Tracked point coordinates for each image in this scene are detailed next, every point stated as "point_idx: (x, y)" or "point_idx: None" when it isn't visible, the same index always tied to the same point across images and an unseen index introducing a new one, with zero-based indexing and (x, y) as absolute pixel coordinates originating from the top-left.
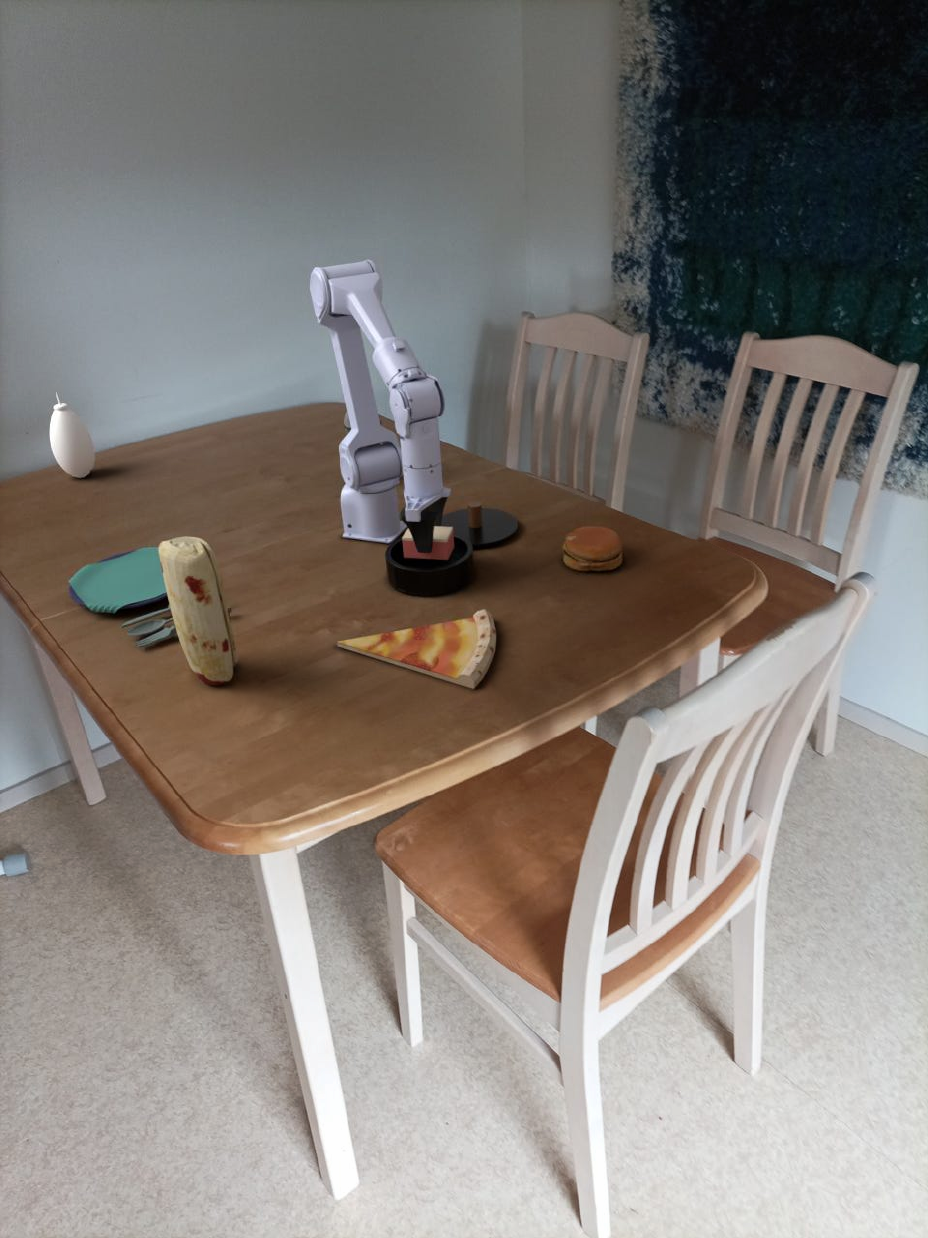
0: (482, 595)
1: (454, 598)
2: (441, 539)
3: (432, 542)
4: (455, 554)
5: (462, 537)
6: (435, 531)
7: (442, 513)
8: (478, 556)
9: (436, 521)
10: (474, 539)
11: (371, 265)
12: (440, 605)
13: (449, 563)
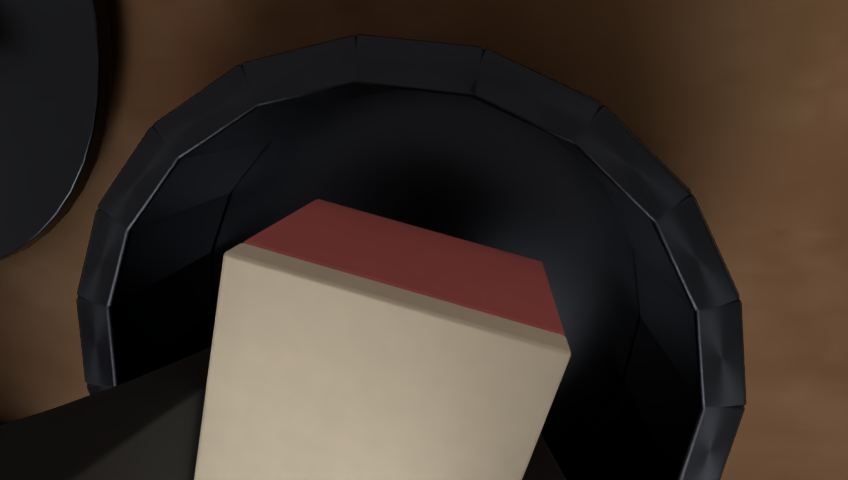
0: (730, 10)
1: (715, 194)
2: (548, 406)
3: (544, 477)
4: (241, 168)
5: (178, 122)
6: (332, 446)
7: (23, 435)
8: (206, 17)
9: (156, 454)
10: (32, 30)
11: None
12: (776, 277)
13: None
